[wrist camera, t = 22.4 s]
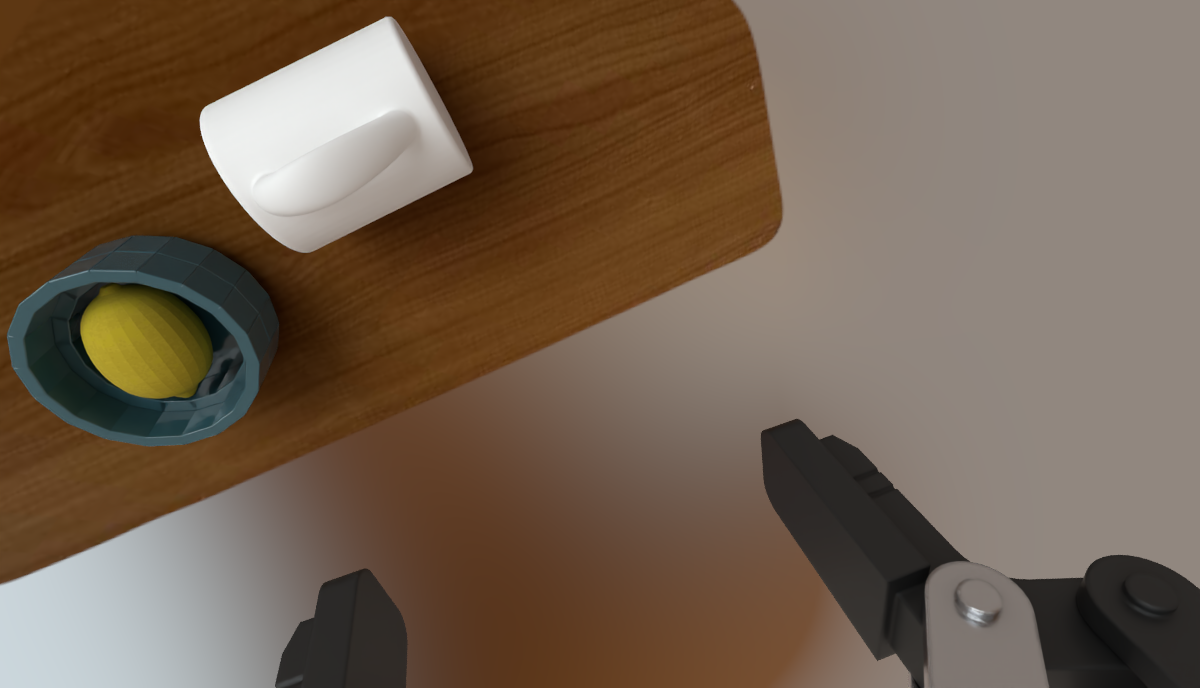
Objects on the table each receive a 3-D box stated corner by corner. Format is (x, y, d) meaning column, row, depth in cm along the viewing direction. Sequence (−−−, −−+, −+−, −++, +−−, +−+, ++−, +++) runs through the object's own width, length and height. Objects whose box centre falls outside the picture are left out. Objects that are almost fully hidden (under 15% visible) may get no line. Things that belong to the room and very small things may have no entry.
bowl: (19, 263, 33) (-55, 310, 28) (222, 207, 34) (185, 242, 29) (147, 410, 39) (105, 470, 34) (314, 359, 40) (297, 409, 35)
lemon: (244, 359, 38) (173, 252, 34) (228, 404, 34) (144, 288, 29) (156, 387, 37) (72, 281, 33) (128, 438, 33) (25, 323, 28)
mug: (470, 153, 36) (485, 210, 26) (323, 225, 36) (282, 311, 26) (395, 13, 31) (379, 17, 21) (227, 96, 31) (132, 140, 21)
